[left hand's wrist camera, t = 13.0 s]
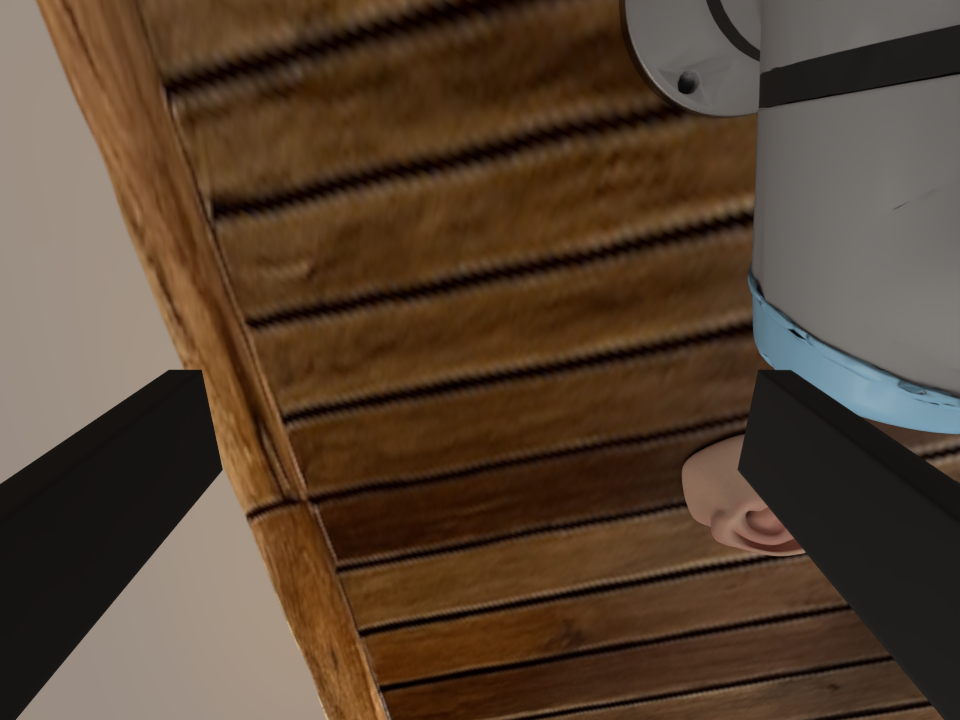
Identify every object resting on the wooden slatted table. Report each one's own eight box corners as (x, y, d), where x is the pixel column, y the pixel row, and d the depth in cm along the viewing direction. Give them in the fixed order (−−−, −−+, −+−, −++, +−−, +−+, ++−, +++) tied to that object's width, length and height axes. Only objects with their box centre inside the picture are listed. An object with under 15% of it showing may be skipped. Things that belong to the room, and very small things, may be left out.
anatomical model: (672, 505, 43) (796, 423, 40) (657, 478, 47) (769, 401, 44) (756, 596, 46) (875, 526, 44) (736, 564, 50) (844, 498, 47)
